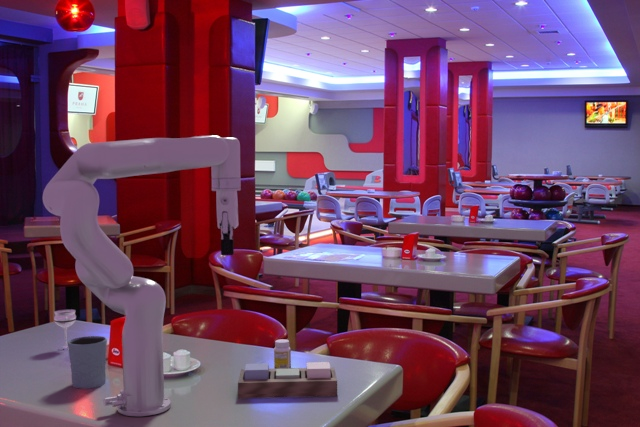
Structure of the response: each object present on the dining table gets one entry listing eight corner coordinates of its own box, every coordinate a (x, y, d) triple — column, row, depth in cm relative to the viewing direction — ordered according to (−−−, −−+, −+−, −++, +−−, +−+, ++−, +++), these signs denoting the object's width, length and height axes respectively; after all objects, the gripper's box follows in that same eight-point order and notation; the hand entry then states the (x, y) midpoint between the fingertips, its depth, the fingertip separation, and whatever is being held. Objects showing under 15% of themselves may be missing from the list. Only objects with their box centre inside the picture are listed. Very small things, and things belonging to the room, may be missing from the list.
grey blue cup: (81, 391, 187) (79, 346, 187) (61, 384, 194) (60, 340, 193) (115, 383, 195) (114, 339, 194) (95, 375, 202) (94, 333, 201)
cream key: (307, 382, 184) (307, 368, 184) (306, 375, 190) (306, 362, 190) (330, 381, 185) (330, 368, 184) (329, 375, 191) (329, 362, 190)
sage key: (276, 389, 184) (275, 375, 184) (276, 381, 190) (276, 368, 190) (299, 388, 184) (299, 375, 184) (299, 381, 190) (299, 368, 190)
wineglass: (71, 344, 238) (70, 308, 237) (80, 348, 233) (79, 311, 232) (51, 348, 233) (50, 311, 232) (60, 351, 228) (58, 314, 227)
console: (238, 398, 181) (237, 382, 181) (241, 383, 193) (241, 369, 193) (337, 396, 182) (337, 380, 182) (334, 381, 194) (334, 367, 194)
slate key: (244, 383, 184) (244, 370, 184) (246, 376, 190) (245, 363, 190) (268, 383, 184) (268, 369, 184) (268, 376, 190) (268, 363, 190)
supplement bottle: (282, 366, 209) (281, 338, 209) (294, 369, 206) (294, 340, 206) (270, 370, 206) (270, 341, 205) (283, 373, 203) (282, 343, 202)
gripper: (238, 185, 181) (239, 258, 182) (242, 184, 196) (243, 251, 197) (208, 186, 180) (209, 258, 182) (214, 184, 195) (216, 251, 197)
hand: (227, 254), depth 189 cm, fingers closed
